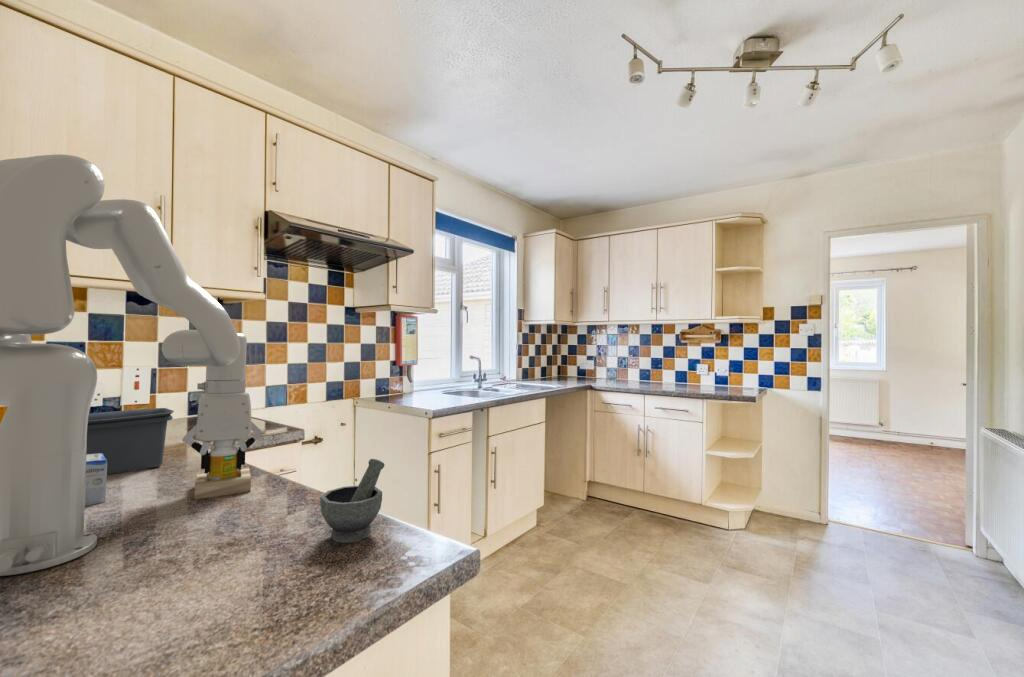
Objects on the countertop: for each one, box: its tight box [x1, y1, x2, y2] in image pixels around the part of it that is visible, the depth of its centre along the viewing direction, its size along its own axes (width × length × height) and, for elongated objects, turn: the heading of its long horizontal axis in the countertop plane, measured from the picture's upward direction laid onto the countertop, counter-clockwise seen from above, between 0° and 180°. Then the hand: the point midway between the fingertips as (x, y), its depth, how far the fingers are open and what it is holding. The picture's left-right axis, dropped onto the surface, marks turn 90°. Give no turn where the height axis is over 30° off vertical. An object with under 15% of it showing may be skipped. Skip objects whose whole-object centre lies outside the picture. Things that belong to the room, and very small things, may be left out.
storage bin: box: [86, 407, 175, 476], centre depth 114 cm, size 21×16×14 cm
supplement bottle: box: [208, 440, 239, 481], centre depth 100 cm, size 5×5×10 cm
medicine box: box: [85, 453, 108, 507], centre depth 92 cm, size 8×4×9 cm, turn 47°
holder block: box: [194, 466, 252, 500], centre depth 100 cm, size 10×10×3 cm
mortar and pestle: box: [320, 458, 386, 544], centre depth 77 cm, size 11×9×12 cm
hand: (223, 469), depth 100 cm, fingers closed on supplement bottle, 5 cm apart
